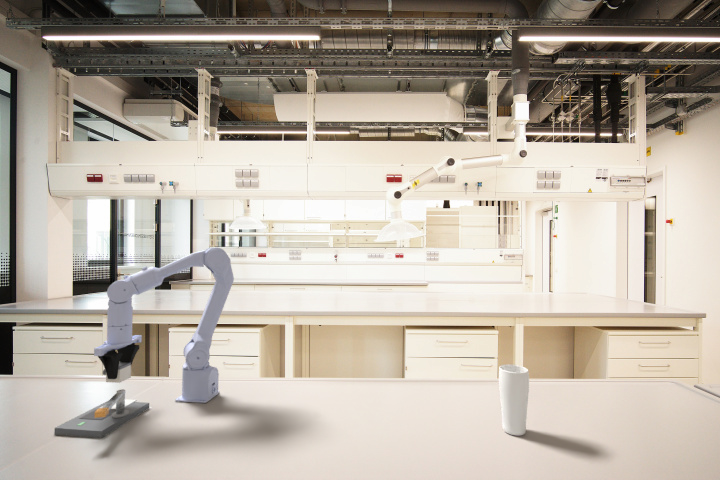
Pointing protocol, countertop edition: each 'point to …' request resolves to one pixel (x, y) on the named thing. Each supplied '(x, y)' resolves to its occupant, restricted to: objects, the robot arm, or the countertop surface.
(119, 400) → the orange-tipped grey rod
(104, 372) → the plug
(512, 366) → the drinking glass
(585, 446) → the countertop surface
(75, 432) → the grey flat board
